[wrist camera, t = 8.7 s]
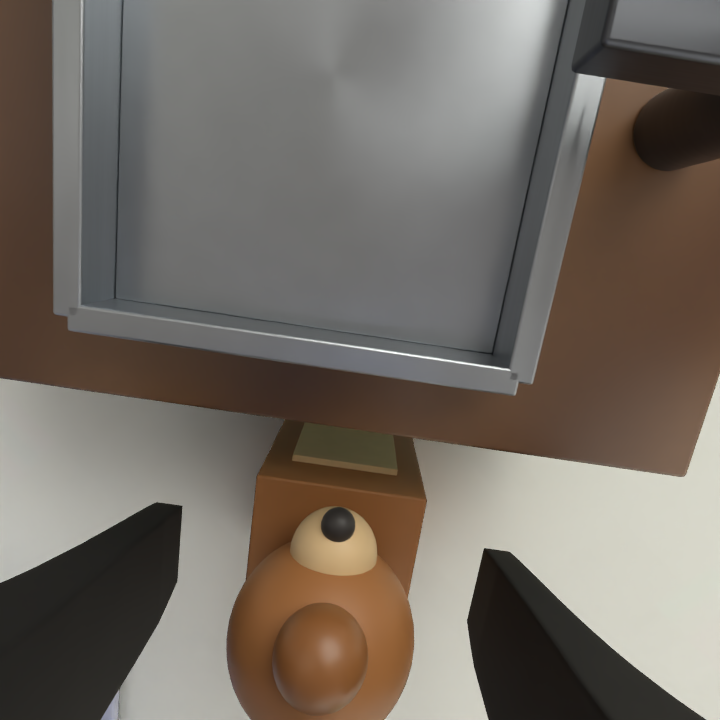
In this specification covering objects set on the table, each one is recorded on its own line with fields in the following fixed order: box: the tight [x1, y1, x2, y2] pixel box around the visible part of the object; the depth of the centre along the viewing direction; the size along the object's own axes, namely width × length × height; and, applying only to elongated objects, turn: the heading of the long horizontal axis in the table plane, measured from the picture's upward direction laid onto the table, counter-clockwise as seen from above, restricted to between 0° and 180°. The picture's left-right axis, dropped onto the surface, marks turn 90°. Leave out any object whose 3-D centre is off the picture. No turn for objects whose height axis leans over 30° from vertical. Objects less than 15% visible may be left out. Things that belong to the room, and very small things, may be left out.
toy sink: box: [0, 0, 720, 477], centre depth 8 cm, size 13×11×9 cm
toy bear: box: [226, 420, 427, 720], centre depth 11 cm, size 4×5×8 cm
